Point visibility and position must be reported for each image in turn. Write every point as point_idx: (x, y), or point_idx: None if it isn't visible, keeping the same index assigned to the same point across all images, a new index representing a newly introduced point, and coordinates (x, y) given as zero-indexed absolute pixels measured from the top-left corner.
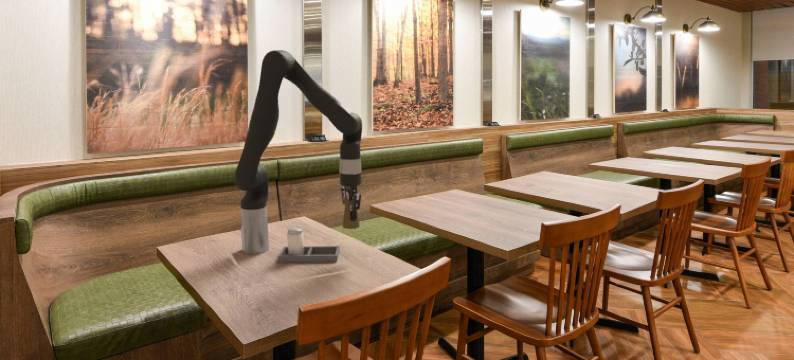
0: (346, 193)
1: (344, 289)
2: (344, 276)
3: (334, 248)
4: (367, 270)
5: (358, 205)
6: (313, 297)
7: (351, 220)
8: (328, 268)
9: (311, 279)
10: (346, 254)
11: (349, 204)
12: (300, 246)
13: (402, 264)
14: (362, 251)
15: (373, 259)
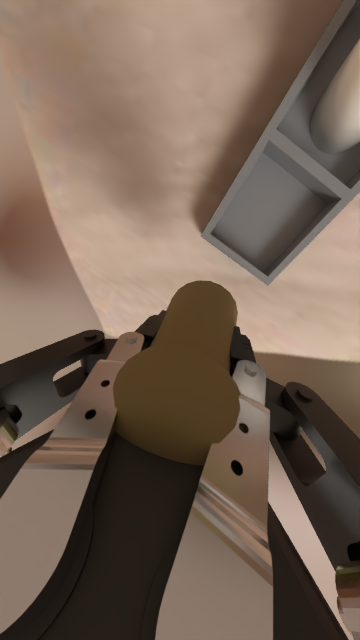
0: (56, 519)
1: (55, 170)
2: (121, 210)
3: (273, 268)
4: (132, 273)
5: (67, 378)
6: (22, 51)
7: (162, 312)
8: (186, 197)
9: (135, 101)
10: (246, 291)
11: (127, 360)
12: (343, 83)
13: None
14: None
15: None
